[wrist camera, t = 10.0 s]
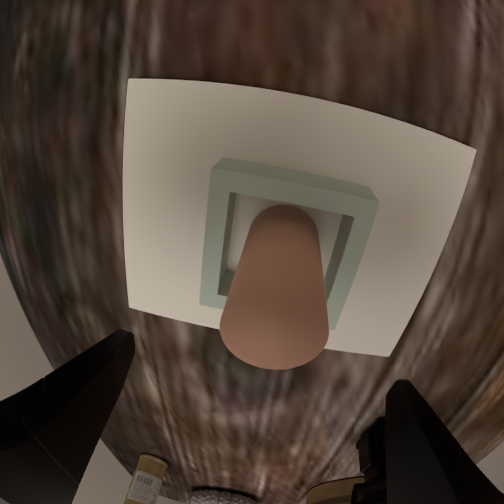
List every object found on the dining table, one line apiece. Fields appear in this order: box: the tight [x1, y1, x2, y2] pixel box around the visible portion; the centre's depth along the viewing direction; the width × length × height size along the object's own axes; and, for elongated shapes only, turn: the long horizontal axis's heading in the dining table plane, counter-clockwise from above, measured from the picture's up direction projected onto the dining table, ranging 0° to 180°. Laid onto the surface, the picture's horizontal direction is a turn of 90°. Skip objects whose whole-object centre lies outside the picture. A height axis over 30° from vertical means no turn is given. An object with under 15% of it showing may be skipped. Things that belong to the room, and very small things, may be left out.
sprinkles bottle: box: [124, 454, 168, 504], centre depth 34 cm, size 5×5×14 cm
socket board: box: [123, 79, 476, 357], centre depth 18 cm, size 20×16×4 cm
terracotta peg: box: [220, 205, 329, 370], centre depth 15 cm, size 4×4×8 cm
